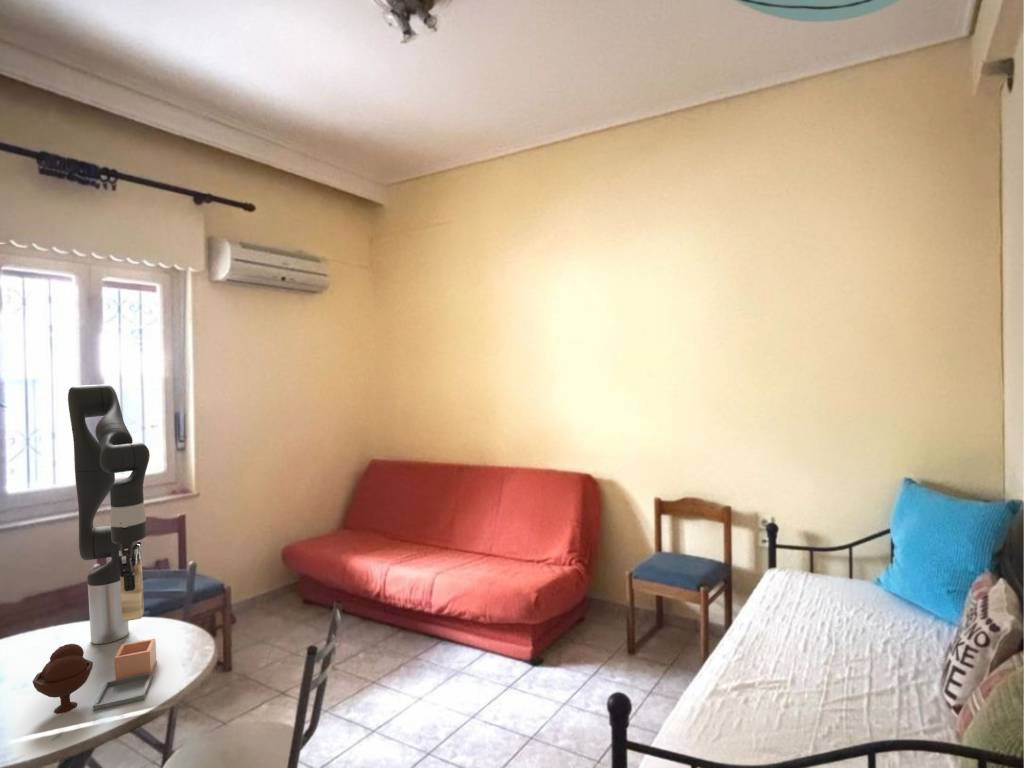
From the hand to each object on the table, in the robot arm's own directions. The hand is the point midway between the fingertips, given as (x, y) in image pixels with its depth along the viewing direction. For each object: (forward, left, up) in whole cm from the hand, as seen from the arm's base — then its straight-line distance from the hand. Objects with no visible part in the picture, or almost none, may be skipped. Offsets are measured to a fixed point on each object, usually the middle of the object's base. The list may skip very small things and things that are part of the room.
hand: (131, 586), depth 146 cm
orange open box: (0, 0, -23) cm, 23 cm away
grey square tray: (+10, -1, -23) cm, 25 cm away
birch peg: (0, 0, -8) cm, 8 cm away
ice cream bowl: (+11, -12, -23) cm, 29 cm away
